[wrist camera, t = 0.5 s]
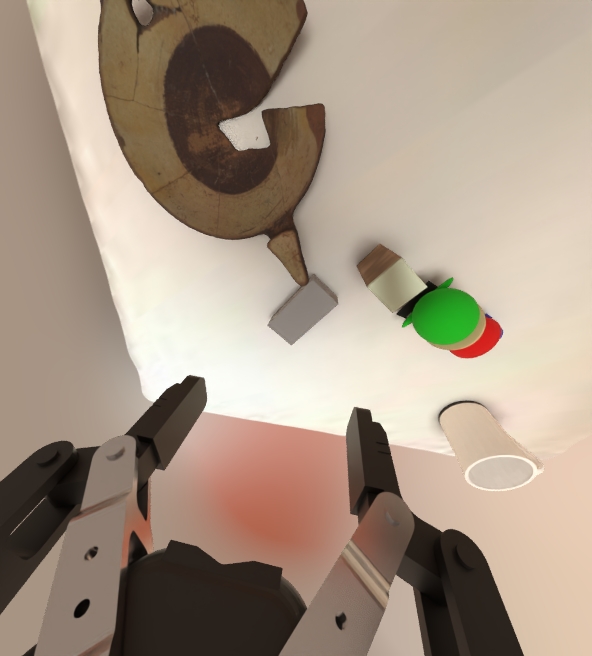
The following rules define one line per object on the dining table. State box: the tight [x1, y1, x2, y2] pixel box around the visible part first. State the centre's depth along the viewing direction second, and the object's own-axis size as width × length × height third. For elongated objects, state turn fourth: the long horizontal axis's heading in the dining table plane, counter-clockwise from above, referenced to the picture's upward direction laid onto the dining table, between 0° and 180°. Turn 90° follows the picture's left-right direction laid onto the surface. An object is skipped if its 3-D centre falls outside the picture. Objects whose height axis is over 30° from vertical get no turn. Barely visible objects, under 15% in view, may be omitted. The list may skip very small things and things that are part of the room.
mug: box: [439, 401, 544, 491], centre depth 36 cm, size 11×9×10 cm
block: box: [357, 244, 427, 313], centre depth 26 cm, size 4×4×10 cm
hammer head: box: [268, 275, 338, 345], centre depth 34 cm, size 10×5×3 cm, turn 138°
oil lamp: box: [98, 0, 325, 286], centre depth 24 cm, size 22×30×8 cm
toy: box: [397, 278, 503, 358], centre depth 29 cm, size 8×8×15 cm
